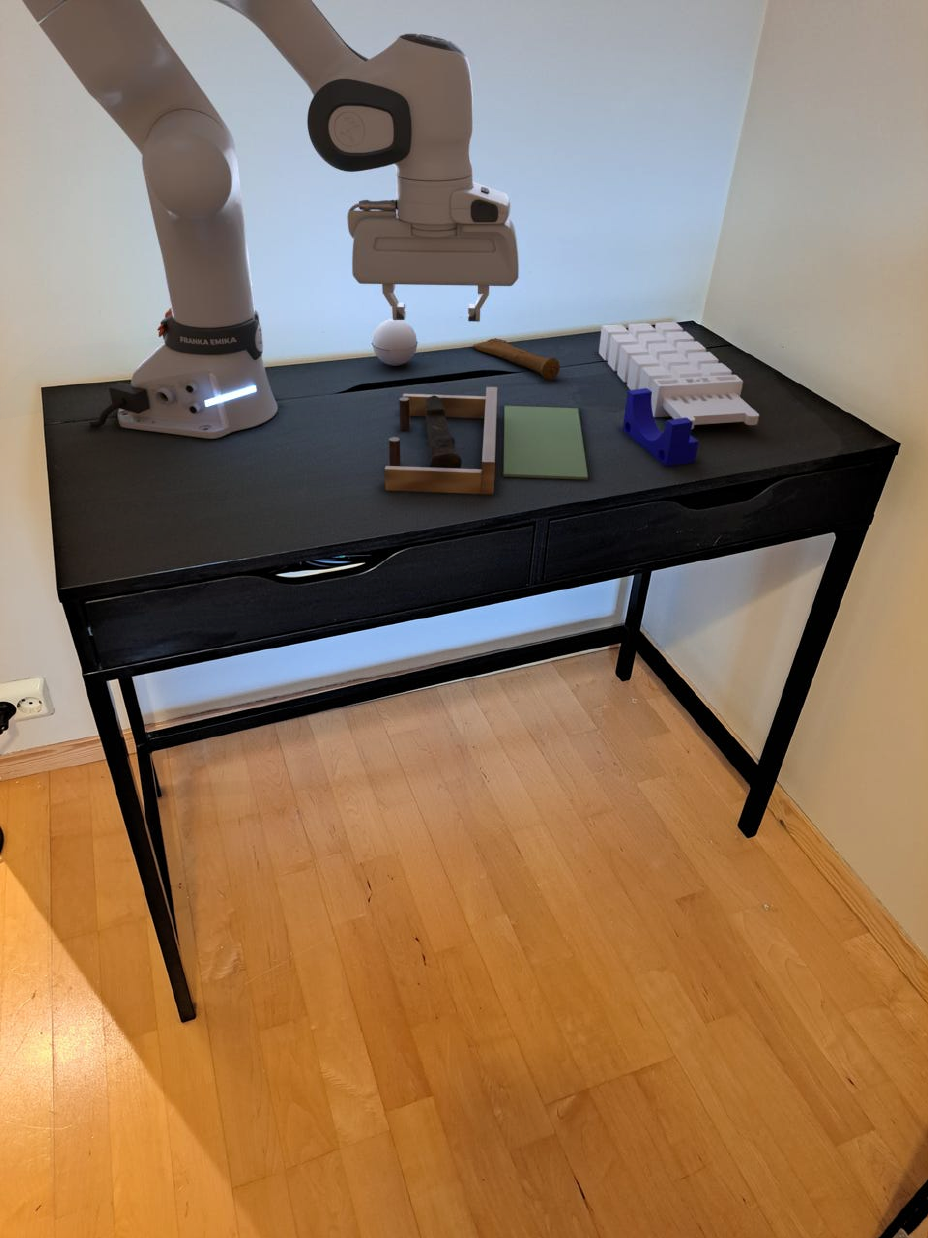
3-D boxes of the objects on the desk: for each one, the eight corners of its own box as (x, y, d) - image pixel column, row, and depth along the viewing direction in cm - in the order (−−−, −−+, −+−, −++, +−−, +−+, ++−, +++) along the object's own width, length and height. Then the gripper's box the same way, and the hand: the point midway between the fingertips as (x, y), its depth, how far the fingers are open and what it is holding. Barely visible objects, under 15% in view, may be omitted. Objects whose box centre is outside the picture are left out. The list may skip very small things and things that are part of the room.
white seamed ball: (365, 360, 149) (363, 316, 145) (405, 353, 152) (404, 309, 148) (391, 381, 142) (389, 335, 138) (432, 373, 145) (432, 328, 141)
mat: (503, 476, 117) (503, 473, 117) (504, 407, 135) (504, 405, 135) (587, 479, 117) (587, 476, 117) (577, 410, 135) (578, 408, 134)
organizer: (675, 321, 154) (769, 403, 126) (670, 349, 156) (761, 435, 129) (601, 325, 151) (681, 409, 124) (598, 353, 154) (675, 441, 127)
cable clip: (694, 461, 122) (702, 420, 118) (665, 466, 121) (672, 424, 117) (649, 425, 131) (655, 386, 127) (622, 430, 129) (627, 390, 126)
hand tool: (461, 482, 116) (462, 449, 113) (430, 482, 116) (430, 449, 113) (451, 421, 131) (451, 390, 128) (423, 421, 131) (423, 390, 128)
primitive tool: (471, 347, 155) (472, 327, 153) (496, 341, 158) (497, 321, 156) (544, 383, 143) (546, 362, 141) (569, 376, 146) (572, 355, 144)
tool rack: (385, 490, 114) (384, 458, 111) (403, 412, 133) (403, 383, 130) (493, 494, 113) (494, 462, 111) (496, 415, 133) (497, 386, 130)
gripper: (341, 205, 102) (350, 326, 111) (521, 207, 102) (516, 329, 110) (349, 193, 107) (357, 309, 116) (521, 195, 107) (516, 312, 115)
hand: (436, 319), depth 113 cm, fingers open, 8 cm apart
